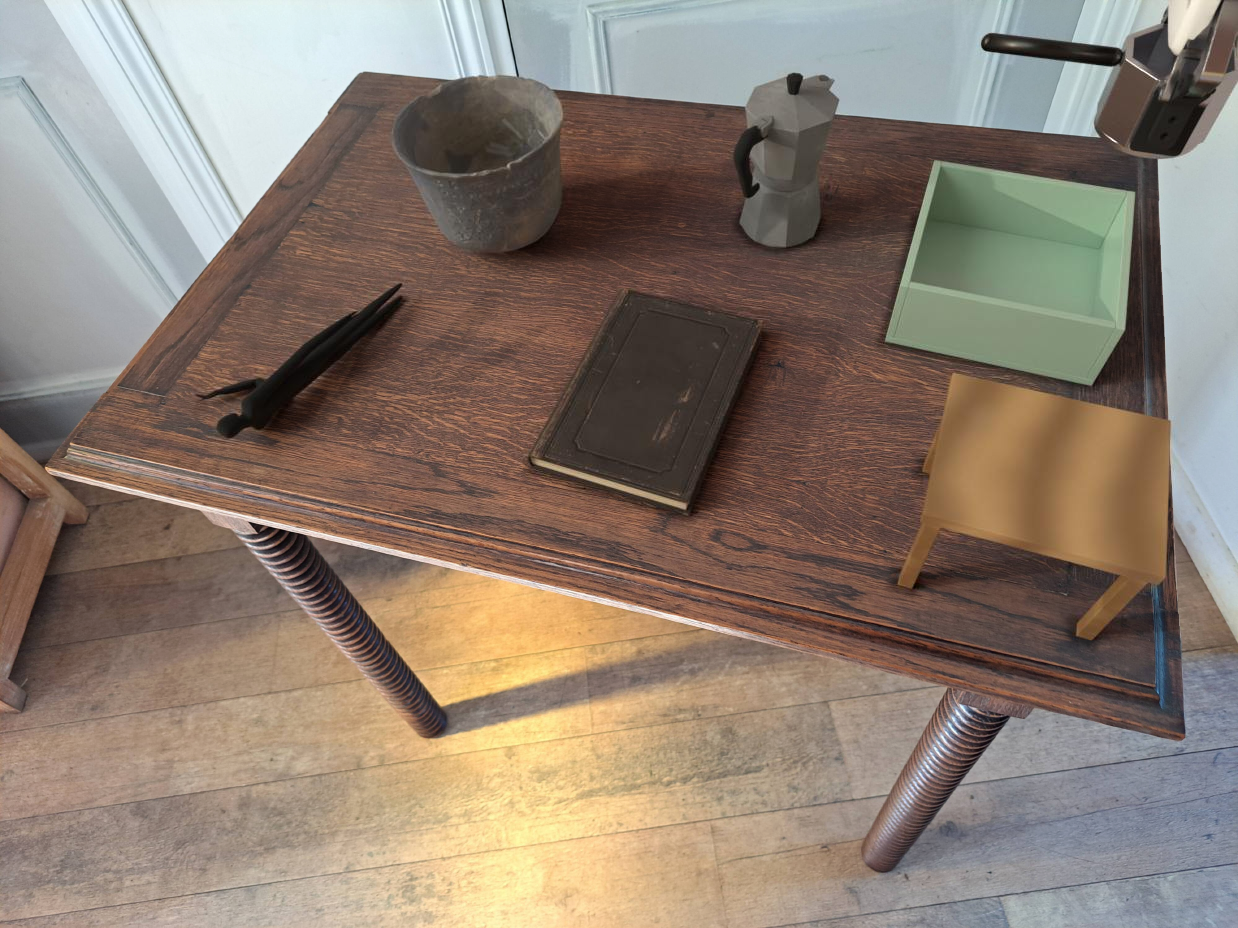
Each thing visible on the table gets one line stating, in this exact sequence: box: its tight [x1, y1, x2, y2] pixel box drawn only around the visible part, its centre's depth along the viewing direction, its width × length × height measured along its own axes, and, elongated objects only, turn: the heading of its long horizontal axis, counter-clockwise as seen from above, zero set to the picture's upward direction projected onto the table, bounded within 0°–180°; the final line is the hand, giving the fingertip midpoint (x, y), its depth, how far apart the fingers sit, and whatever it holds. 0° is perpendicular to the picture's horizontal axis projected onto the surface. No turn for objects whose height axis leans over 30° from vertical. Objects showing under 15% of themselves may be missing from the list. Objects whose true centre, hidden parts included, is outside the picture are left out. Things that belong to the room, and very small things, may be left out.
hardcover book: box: [527, 288, 765, 516], centre depth 84 cm, size 16×23×2 cm
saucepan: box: [980, 23, 1238, 160], centre depth 60 cm, size 16×7×6 cm, turn 70°
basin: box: [884, 159, 1136, 387], centre depth 86 cm, size 20×20×8 cm
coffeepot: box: [732, 72, 840, 248], centre depth 90 cm, size 15×9×18 cm, turn 137°
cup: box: [390, 74, 564, 254], centre depth 94 cm, size 18×18×15 cm
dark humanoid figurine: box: [194, 282, 403, 439], centre depth 89 cm, size 8×9×25 cm
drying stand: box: [897, 372, 1172, 641], centre depth 68 cm, size 16×14×12 cm
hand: (1155, 116), depth 60 cm, fingers closed on saucepan, 7 cm apart
